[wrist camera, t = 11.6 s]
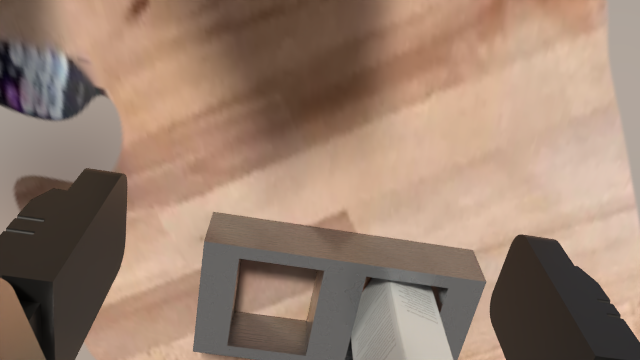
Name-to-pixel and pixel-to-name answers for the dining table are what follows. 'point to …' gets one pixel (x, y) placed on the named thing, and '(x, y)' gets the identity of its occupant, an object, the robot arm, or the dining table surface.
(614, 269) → the dining table surface
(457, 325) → the holder
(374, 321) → the skincare box
